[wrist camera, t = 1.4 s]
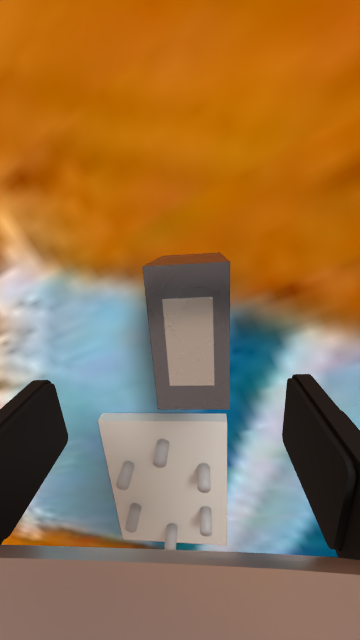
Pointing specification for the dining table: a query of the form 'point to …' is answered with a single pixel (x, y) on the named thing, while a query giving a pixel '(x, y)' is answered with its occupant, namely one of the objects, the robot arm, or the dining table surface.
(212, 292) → the block
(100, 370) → the dining table surface
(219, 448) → the pin tray
